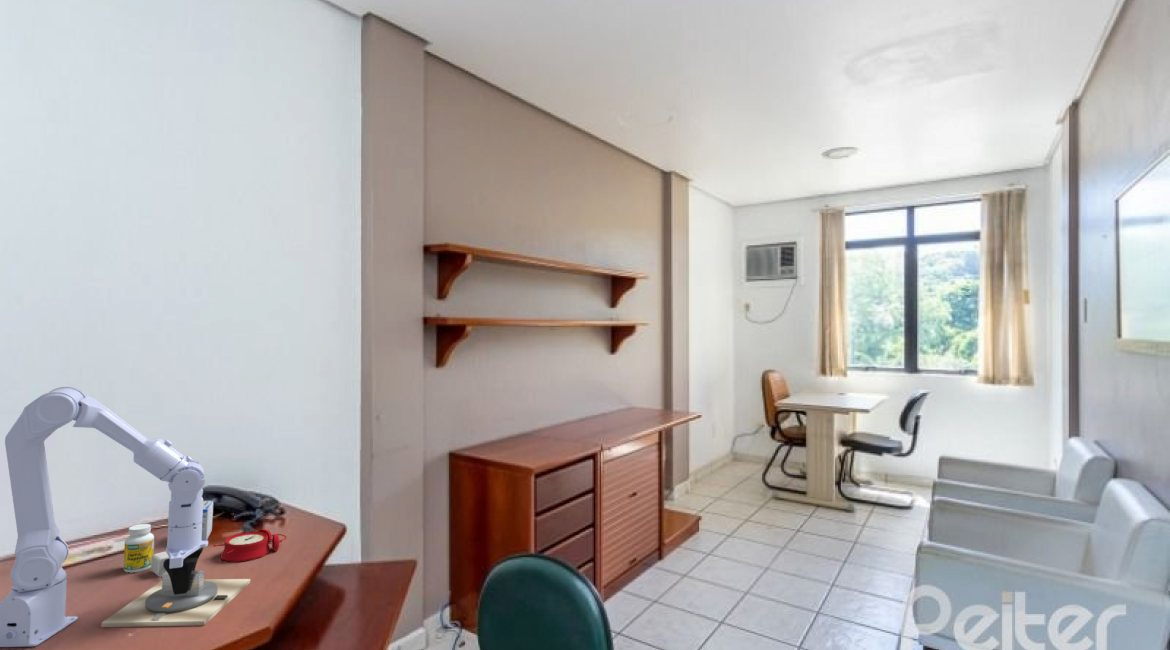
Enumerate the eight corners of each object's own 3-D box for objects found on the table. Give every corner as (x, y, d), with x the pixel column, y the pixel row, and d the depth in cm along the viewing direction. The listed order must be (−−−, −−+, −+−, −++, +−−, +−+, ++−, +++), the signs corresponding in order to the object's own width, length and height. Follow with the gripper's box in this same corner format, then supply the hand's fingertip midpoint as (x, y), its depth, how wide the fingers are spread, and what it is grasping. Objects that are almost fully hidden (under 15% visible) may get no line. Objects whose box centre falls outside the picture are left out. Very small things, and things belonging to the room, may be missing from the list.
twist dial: (196, 612, 110) (197, 585, 110) (130, 613, 109) (131, 586, 109) (228, 584, 122) (229, 560, 122) (169, 584, 120) (170, 560, 121)
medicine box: (192, 533, 152) (193, 501, 152) (212, 531, 154) (213, 499, 154) (186, 544, 145) (187, 510, 145) (206, 542, 147) (208, 508, 147)
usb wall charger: (171, 566, 132) (172, 549, 132) (183, 575, 128) (184, 557, 128) (150, 572, 128) (151, 554, 128) (162, 581, 124) (163, 563, 124)
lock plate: (204, 625, 107) (204, 618, 107) (101, 627, 105) (101, 620, 105) (250, 582, 125) (250, 577, 125) (162, 583, 123) (163, 577, 123)
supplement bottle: (154, 561, 134) (155, 521, 134) (152, 570, 129) (153, 528, 129) (124, 566, 131) (126, 524, 131) (121, 575, 126) (123, 532, 126)
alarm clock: (208, 541, 138) (271, 513, 150) (214, 565, 139) (275, 535, 151) (227, 552, 132) (291, 522, 144) (233, 577, 133) (295, 544, 145)
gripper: (201, 532, 110) (198, 602, 110) (214, 509, 124) (212, 572, 123) (157, 537, 107) (154, 608, 107) (175, 513, 121) (173, 577, 120)
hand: (182, 589), depth 115 cm, fingers closed on twist dial, 3 cm apart
